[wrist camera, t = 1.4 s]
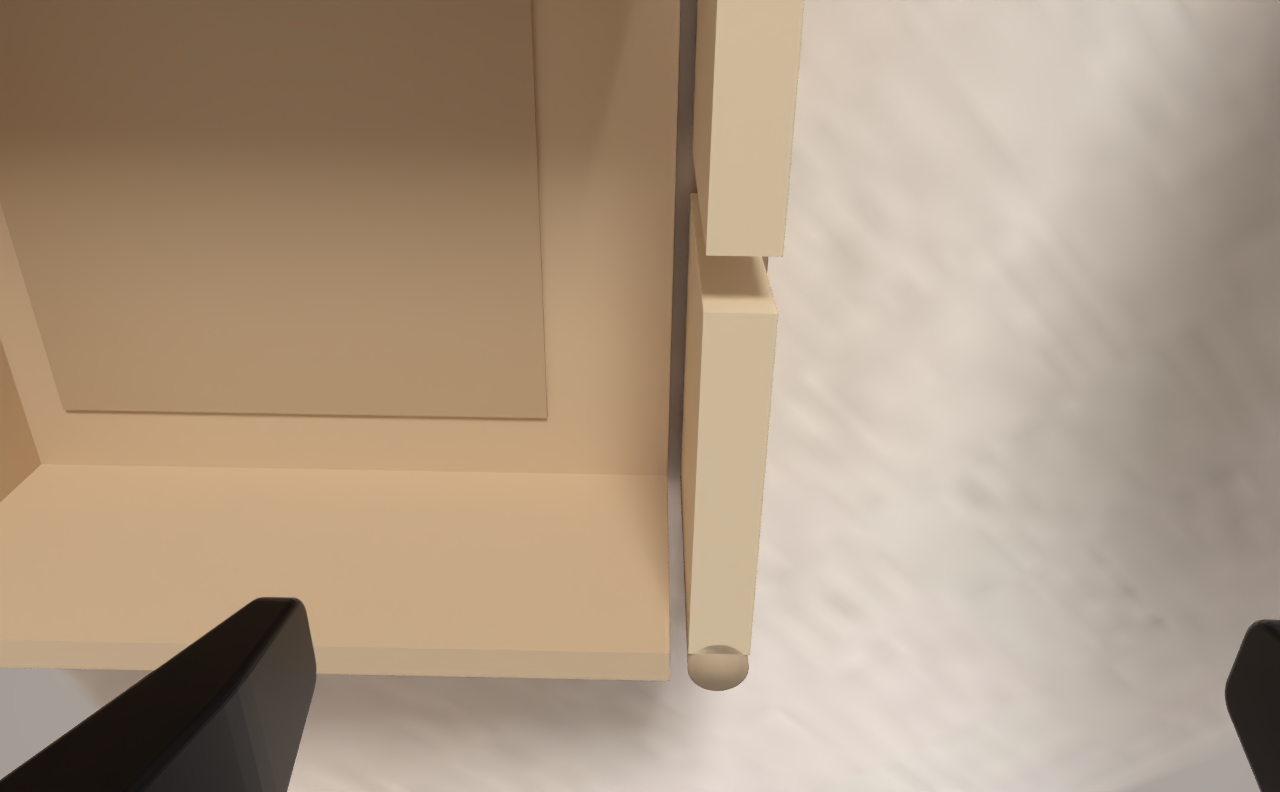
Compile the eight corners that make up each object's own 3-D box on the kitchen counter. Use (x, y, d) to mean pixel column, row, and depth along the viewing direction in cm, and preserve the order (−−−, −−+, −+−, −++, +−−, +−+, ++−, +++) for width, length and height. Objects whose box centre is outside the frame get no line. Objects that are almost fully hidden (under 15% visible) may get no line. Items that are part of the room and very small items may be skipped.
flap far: (749, 193, 18) (785, 313, 13) (729, 497, 21) (752, 691, 16) (690, 193, 18) (703, 312, 13) (679, 496, 21) (686, 690, 16)
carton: (687, -285, 15) (704, -386, 9) (666, 484, 21) (668, 680, 16) (-216, -294, 15) (-700, -398, 10) (37, 472, 21) (-169, 664, 16)
